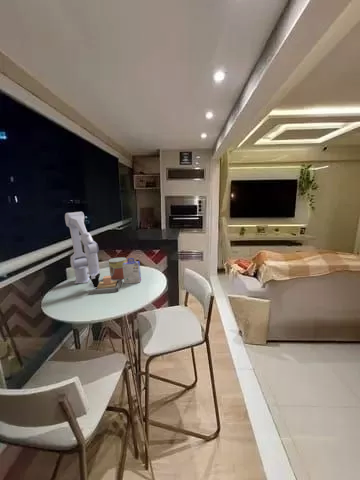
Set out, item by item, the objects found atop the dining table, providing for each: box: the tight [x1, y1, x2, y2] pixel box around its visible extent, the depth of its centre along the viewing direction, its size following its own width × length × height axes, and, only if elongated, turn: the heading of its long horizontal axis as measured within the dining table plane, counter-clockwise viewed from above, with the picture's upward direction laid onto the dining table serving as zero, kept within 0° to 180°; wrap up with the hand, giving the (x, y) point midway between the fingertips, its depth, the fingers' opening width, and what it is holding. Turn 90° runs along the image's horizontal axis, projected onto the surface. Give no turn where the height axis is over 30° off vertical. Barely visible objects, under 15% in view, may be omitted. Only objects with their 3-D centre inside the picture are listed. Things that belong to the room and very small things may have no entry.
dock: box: [87, 279, 123, 296], centre depth 149 cm, size 18×16×2 cm
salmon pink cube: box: [102, 275, 112, 285], centre depth 149 cm, size 4×4×4 cm
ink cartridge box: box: [122, 257, 142, 285], centre depth 156 cm, size 10×6×14 cm, turn 93°
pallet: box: [96, 280, 117, 289], centre depth 150 cm, size 8×10×2 cm
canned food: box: [108, 256, 128, 281], centre depth 166 cm, size 11×11×12 cm
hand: (96, 286), depth 149 cm, fingers closed
